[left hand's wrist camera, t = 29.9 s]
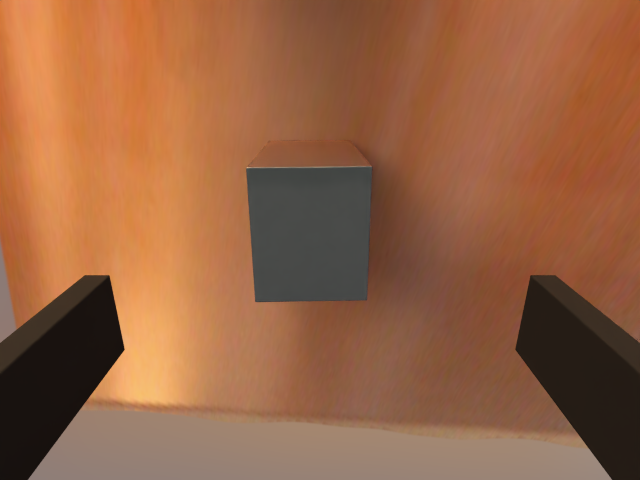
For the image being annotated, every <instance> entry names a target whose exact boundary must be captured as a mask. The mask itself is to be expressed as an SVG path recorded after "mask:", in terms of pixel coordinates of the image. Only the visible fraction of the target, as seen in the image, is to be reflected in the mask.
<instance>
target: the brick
mask: <svg viewBox="0 0 640 480" xmlns="http://www.w3.org/2000/svg"><path fill="white" fill-rule="evenodd" d="M246 173H247V188H248V203H249V217H250V232H251V247H252V261H253V276H254V291H255V302H290V301H352V300H367V290H368V265H369V241H370V216H371V191H372V166H371V164H370V163H369V162H368V161H367V160H366V159H365V157H364V156H363V155H362V154H361V153H360V151H359V150H358V149H357V148H356V147H355V145H354V144H353V143H352V142H351V141H350V140H305V141H268V142H267V144H266V145H265V146H264V147H263V148H262V150H261V151H260V152H259V153H258V154H257V156H256V157H255V158H254V159H253V160H252V162H251V163H250V164H249V165H248V166H247V167H246Z"/></svg>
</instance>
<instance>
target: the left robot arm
mask: <svg viewBox="0 0 640 480" xmlns="http://www.w3.org/2000/svg"><path fill="white" fill-rule="evenodd" d="M124 350H125V349H124V344H123V339H122V334H121V330H120V325H119V320H118V315H117V310H116V305H115V300H114V296H113V291H112V286H111V281H110V276H109V275H85V276H83V277H82V278H81V279H80V280H78V281H77V282H76V283H75V284H73V285H72V286H71V287H70V288H68V289H67V290H66V291H65V292H63V293H62V294H61V295H60V296H58V297H57V298H56V299H55V300H53V301H52V302H51V303H50V304H48V305H47V306H46V307H45V308H43V309H42V310H41V311H40V312H38V313H37V314H36V315H35V316H33V317H32V318H31V319H30V320H28V321H27V322H26V323H25V324H23V325H22V326H21V327H20V328H18V329H17V330H16V331H15V332H13V333H12V334H11V335H10V336H9V337H7V338H6V339H5V340H3V341H2V342H1V343H0V480H28V479H29V477H30V476H31V475H32V473H33V472H34V471H35V469H36V468H37V467H38V465H39V464H40V462H41V461H42V460H43V459H44V457H45V456H46V455H47V453H48V452H49V450H50V449H51V448H52V446H53V445H54V444H55V442H56V441H57V440H58V438H59V437H60V436H61V434H62V433H63V432H64V430H65V429H66V428H67V426H68V425H69V424H70V422H71V421H72V420H73V418H74V417H75V416H76V414H77V413H78V412H79V410H80V409H81V408H82V406H83V405H84V403H85V402H86V401H87V399H88V398H89V397H90V395H91V394H92V393H93V391H94V390H95V389H96V387H97V386H98V385H99V383H100V382H101V381H102V379H103V378H104V377H105V375H106V374H107V373H108V371H109V370H110V369H111V367H112V366H113V365H114V363H115V362H116V360H117V359H118V358H119V356H120V355H121V354H122V352H123V351H124ZM515 350H516V351H517V352H518V354H519V355H520V356H521V358H522V359H523V360H524V362H525V363H526V365H527V366H528V367H529V369H530V370H531V371H532V373H533V374H534V375H535V377H536V378H537V379H538V381H539V382H540V383H541V385H542V386H543V387H544V389H545V390H546V391H547V393H548V394H549V395H550V397H551V398H552V399H553V401H554V402H555V403H556V405H557V406H558V408H559V409H560V410H561V412H562V413H563V414H564V416H565V417H566V418H567V420H568V421H569V422H570V424H571V425H572V426H573V428H574V429H575V430H576V432H577V433H578V434H579V436H580V437H581V438H582V440H583V441H584V442H585V444H586V445H587V446H588V448H589V449H590V451H591V452H592V453H593V454H594V456H595V457H596V459H597V460H598V461H599V463H600V464H601V465H602V467H603V468H604V469H605V471H606V472H607V473H608V475H609V476H610V477H611V479H612V480H640V343H639V342H638V341H637V340H635V339H634V338H633V337H632V336H630V335H629V334H628V333H627V332H625V331H624V330H623V329H622V328H620V327H619V326H618V325H617V324H615V323H614V322H613V321H612V320H610V319H609V318H608V317H607V316H605V315H604V314H603V313H602V312H600V311H599V310H598V309H597V308H595V307H594V306H593V305H592V304H590V303H589V302H588V301H587V300H585V299H584V298H583V297H582V296H580V295H579V294H578V293H577V292H575V291H574V290H573V289H572V288H570V287H569V286H568V285H567V284H565V283H564V282H563V281H562V280H560V279H559V278H558V277H557V276H555V275H531V276H530V281H529V286H528V291H527V296H526V300H525V305H524V310H523V315H522V320H521V325H520V330H519V334H518V339H517V344H516V349H515Z"/></svg>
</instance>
